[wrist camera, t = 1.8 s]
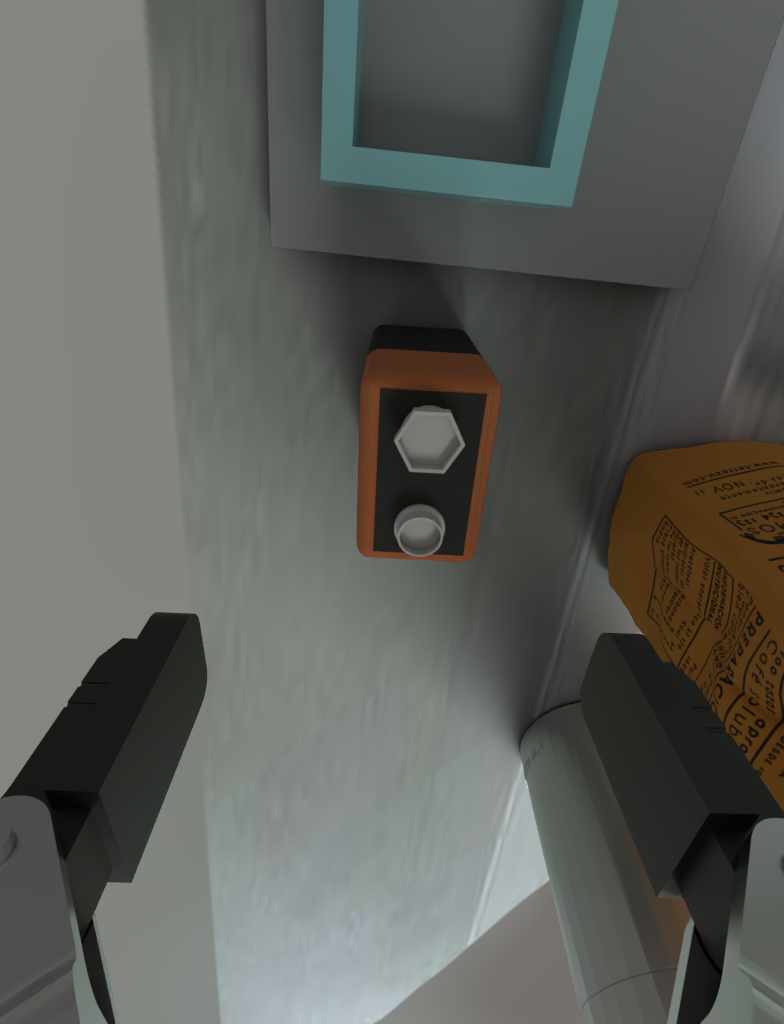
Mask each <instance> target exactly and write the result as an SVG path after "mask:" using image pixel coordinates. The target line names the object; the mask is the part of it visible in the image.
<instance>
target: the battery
mask: <svg viewBox="0 0 784 1024" xmlns="http://www.w3.org/2000/svg"><path fill="white" fill-rule="evenodd" d="M500 400H501V386H500V383H499V382H498V380H497V378H496V377H495V375H494V374H493V372H492V371H491V369H490V368H489V366H488V365H487V363H486V362H485V360H484V359H483V357H482V356H481V354H480V353H479V352H478V350H477V349H476V347H475V346H474V344H473V343H472V341H471V340H470V338H469V337H468V335H467V334H466V333H465V332H464V331H463V330H458V329H442V328H426V327H409V326H393V325H381V326H379V327H377V328H376V329H375V331H374V333H373V336H372V340H371V344H370V348H369V352H368V356H367V360H366V364H365V368H364V372H363V376H362V380H361V389H360V423H359V462H358V502H357V547H358V550H359V552H360V553H361V554H362V555H363V556H366V557H375V558H394V559H413V560H432V561H452V562H467V561H469V560H471V559H472V557H473V556H474V554H475V551H476V547H477V542H478V536H479V530H480V524H481V518H482V512H483V505H484V499H485V493H486V487H487V481H488V475H489V469H490V462H491V456H492V450H493V444H494V438H495V432H496V426H497V419H498V413H499V407H500Z"/></svg>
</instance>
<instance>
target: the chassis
mask: <svg viewBox="0 0 784 1024" xmlns="http://www.w3.org/2000/svg"><path fill="white" fill-rule="evenodd" d="M783 20H784V0H266V38H267V85H268V132H269V179H270V227H271V247H278V248H288V249H298V250H307V251H317V252H327V253H336V254H346V255H355V256H365V257H375V258H384V259H394V260H404V261H413V262H423V263H432V264H442V265H452V266H461V267H471V268H481V269H490V270H500V271H510V272H519V273H529V274H538V275H548V276H558V277H567V278H577V279H587V280H596V281H606V282H615V283H625V284H635V285H644V286H654V287H664V288H673V289H683V290H690V287H691V284H692V281H693V278H694V275H695V272H696V270H697V267H698V264H699V261H700V258H701V255H702V252H703V249H704V247H705V244H706V241H707V238H708V235H709V232H710V229H711V226H712V224H713V221H714V218H715V215H716V212H717V209H718V206H719V203H720V201H721V198H722V195H723V192H724V189H725V186H726V183H727V180H728V178H729V175H730V172H731V169H732V166H733V163H734V160H735V157H736V155H737V152H738V149H739V146H740V143H741V140H742V137H743V134H744V132H745V129H746V126H747V123H748V120H749V117H750V114H751V111H752V109H753V106H754V103H755V100H756V97H757V94H758V91H759V89H760V86H761V83H762V80H763V77H764V74H765V71H766V68H767V66H768V63H769V60H770V57H771V54H772V51H773V48H774V45H775V43H776V40H777V37H778V34H779V31H780V28H781V25H782V22H783Z"/></svg>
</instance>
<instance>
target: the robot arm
mask: <svg viewBox="0 0 784 1024" xmlns="http://www.w3.org/2000/svg"><path fill="white" fill-rule="evenodd" d="M206 685H207V666H206V660H205V654H204V647H203V641H202V635H201V629H200V622H199V619H198V616H197V615H196V614H189V613H164V612H156V613H154V614H153V615H152V616H151V617H150V618H149V620H148V621H147V623H146V625H145V626H144V628H143V630H142V631H141V633H140V634H139V636H138V638H137V639H128V638H123V639H121V640H120V641H119V642H117V643H116V644H115V645H114V646H112V647H111V648H110V649H108V650H107V651H106V652H105V653H103V654H102V655H101V656H100V657H98V658H97V660H96V661H95V663H94V664H93V666H92V667H91V669H90V670H89V672H88V673H87V675H86V676H85V678H84V679H83V680H82V684H81V686H80V687H78V688H77V689H76V691H75V692H74V694H73V695H72V696H71V698H70V699H69V701H68V705H67V707H64V708H63V710H62V711H61V713H60V714H59V716H58V717H57V719H56V720H55V722H54V723H53V725H52V726H51V728H50V729H49V730H48V732H47V733H46V735H45V736H44V738H43V739H42V741H41V742H40V744H39V745H38V746H37V748H36V750H35V751H34V752H33V754H32V755H31V757H30V758H29V760H28V761H27V763H26V764H25V766H24V767H23V768H22V770H21V771H20V773H19V774H18V776H17V777H16V779H15V780H14V782H13V783H12V785H11V786H10V787H9V789H8V790H7V791H6V793H5V794H4V795H3V796H2V797H1V798H0V1024H120V1021H119V1017H118V1013H117V1008H116V1004H115V999H114V995H113V990H112V986H111V981H110V977H109V972H108V968H107V964H106V959H105V955H104V950H103V946H102V941H101V937H100V933H99V928H98V923H97V919H96V915H95V909H96V907H97V904H98V902H99V900H100V898H101V895H102V893H103V891H104V888H105V886H106V884H107V882H124V883H125V882H126V883H127V882H128V883H129V882H130V883H131V882H132V880H133V877H134V874H135V872H136V870H137V867H138V865H139V862H140V860H141V857H142V855H143V852H144V850H145V847H146V844H147V842H148V839H149V837H150V834H151V832H152V829H153V827H154V824H155V822H156V819H157V817H158V814H159V812H160V809H161V806H162V804H163V801H164V799H165V796H166V794H167V791H168V789H169V786H170V784H171V781H172V778H173V776H174V773H175V771H176V768H177V766H178V763H179V761H180V758H181V756H182V753H183V750H184V748H185V746H186V743H187V740H188V738H189V735H190V733H191V730H192V728H193V725H194V723H195V720H196V718H197V715H198V713H199V710H200V707H201V705H202V702H203V699H204V695H205V691H206ZM520 753H521V759H522V763H523V768H524V773H525V774H524V775H525V779H526V784H527V787H528V789H529V794H530V798H531V802H532V807H533V811H534V816H535V820H536V824H537V829H538V833H539V837H540V841H541V846H542V850H543V854H544V859H545V863H546V867H547V871H548V876H549V880H550V884H551V888H552V893H553V897H554V901H555V906H556V910H557V914H558V918H559V922H560V927H561V931H562V935H563V940H564V944H565V948H566V953H567V957H568V961H569V966H570V970H571V974H572V978H573V983H574V987H575V991H576V996H577V1000H578V1004H579V1008H580V1013H581V1016H582V1020H583V1024H784V812H783V810H782V809H781V807H780V806H779V804H778V803H777V801H776V800H775V798H774V797H773V795H772V794H771V793H770V791H769V790H768V788H767V787H766V785H765V784H764V782H763V781H762V779H761V778H760V776H759V775H758V774H757V772H756V771H755V769H754V768H753V766H752V765H751V763H750V762H749V760H748V759H747V757H746V756H745V755H744V753H743V752H742V750H741V749H740V747H739V746H738V744H737V743H736V741H735V740H734V738H733V737H732V735H731V734H730V733H727V732H726V727H725V725H724V724H723V722H722V721H721V719H720V718H719V716H718V715H717V714H716V712H713V711H712V706H711V705H710V703H709V702H708V700H707V699H706V697H705V696H704V695H703V693H702V692H701V690H700V689H699V687H698V686H697V684H696V683H695V682H694V681H693V680H691V679H690V678H689V677H688V676H687V675H686V674H684V673H683V672H682V671H681V670H680V669H679V668H677V667H676V666H675V665H674V664H673V663H672V662H662V660H661V659H660V657H659V655H658V654H657V652H656V651H655V649H654V648H653V646H652V644H651V643H650V641H649V640H648V639H647V638H646V637H645V636H644V635H641V634H623V633H603V634H601V635H600V636H599V638H598V640H597V643H596V646H595V649H594V652H593V654H592V657H591V660H590V663H589V666H588V669H587V672H586V675H585V678H584V681H583V683H582V687H581V702H580V703H575V704H570V705H566V706H563V707H561V708H558V709H555V710H553V711H551V712H549V713H547V714H546V715H544V716H542V717H541V718H539V719H538V720H537V721H536V722H534V723H533V724H532V725H531V726H530V728H529V729H528V730H527V731H526V732H525V734H524V736H523V738H522V740H521V746H520Z"/></svg>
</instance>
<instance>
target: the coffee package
mask: <svg viewBox="0 0 784 1024" xmlns="http://www.w3.org/2000/svg"><path fill="white" fill-rule="evenodd" d="M609 538H610V544H609V548H608V569H609V583H610V585H611V587H612V588H613V589H614V590H615V592H616V593H617V594H618V596H619V597H620V599H621V600H622V602H623V603H624V605H625V606H626V607H627V609H628V610H629V612H630V614H631V616H632V618H633V620H634V623H635V624H636V626H637V627H638V628H639V629H640V631H641V632H642V633H643V635H644V636H645V637H646V638H647V639H648V640H649V641H650V643H651V644H652V646H653V648H654V649H655V651H656V652H657V654H658V655H659V657H660V659H661V660H662V662H672V663H673V664H674V665H675V666H676V667H677V668H679V669H680V670H681V671H682V672H683V673H684V674H686V675H687V676H688V677H689V678H690V679H691V680H693V681H694V682H695V683H696V684H697V686H698V687H699V689H700V690H701V692H702V693H703V695H704V696H705V697H706V699H707V700H708V702H709V703H710V705H711V706H712V711H713V712H716V714H717V715H718V716H719V718H720V719H721V721H722V722H723V724H724V725H725V727H726V732H727V733H730V734H731V735H732V737H733V738H734V740H735V741H736V743H737V744H738V746H739V747H740V749H741V750H742V752H743V753H744V755H745V756H746V757H747V759H748V760H749V762H750V763H751V765H752V766H753V768H754V769H755V771H756V772H757V774H758V775H759V776H760V778H761V779H762V781H763V782H764V784H765V785H766V787H767V788H768V790H769V791H770V793H771V794H772V795H773V797H774V798H775V800H776V801H777V803H778V804H779V806H780V807H781V809H782V810H783V812H784V445H780V444H776V443H766V442H757V441H718V442H711V443H707V444H703V445H698V446H693V447H686V448H675V449H665V450H658V451H652V452H645V453H642V454H640V455H638V456H637V457H635V458H634V459H633V460H632V462H631V463H630V465H629V466H628V468H627V470H626V472H625V477H624V482H623V487H622V491H621V494H620V496H619V499H618V502H617V505H616V508H615V512H614V515H613V518H612V522H611V529H610V533H609Z"/></svg>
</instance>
